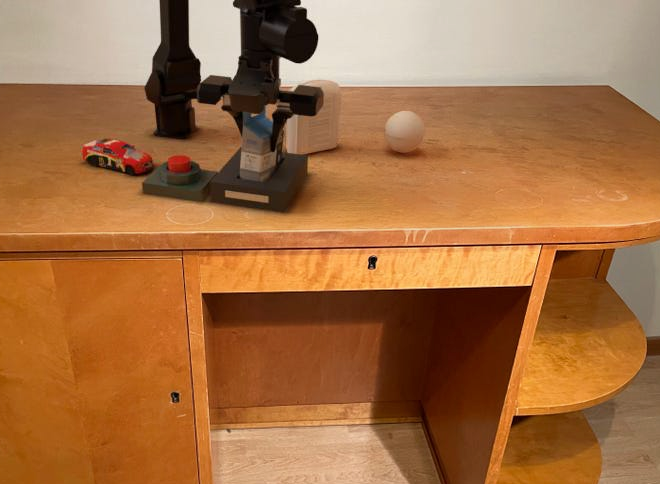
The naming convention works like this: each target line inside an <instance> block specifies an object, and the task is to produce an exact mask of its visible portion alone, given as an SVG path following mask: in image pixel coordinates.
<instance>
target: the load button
mask: <svg viewBox="0 0 660 484" xmlns="http://www.w3.org/2000/svg"><path fill="white" fill-rule="evenodd" d="M191 161H192V160H191V158H190V157H189V156H188V155H183V154H177V155H172V156H169V157H168V158H167V162H168V169H169V171H170V172H174V173H185V172H188V171H191Z"/></svg>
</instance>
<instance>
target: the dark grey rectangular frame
mask: <svg viewBox="0 0 660 484" xmlns="http://www.w3.org/2000/svg"><path fill="white" fill-rule="evenodd" d="M241 149H242V146H240V147H239V148H238V149H237V150H236V151H235V153H234V154H233V155H232V156H231V157H230V159H228V161H227V162H226V163H225V164H224V165H223V166H222V168H220V170H219V171H217V172H218V173H217V175H216V176H215V177H214V178H213V179H212V180H211V181H210V187H211V191H210V202H211V203H213V204H221V205H229V206H234V207H235V206H236V207H243V208H249V209H256V210H263V211H264V210H265V211H271V212H275V213H276V212H277V213H285V211H286V210H287V208H288V207H289V205H290V204H291V202H292V200H293V199H294V198H295V197H296V196H295V195H296V194H297V192H298V191H299V189H300V187H301V186H302V184H303V183H304V181H305V180H306V178H307V177H308V171H309V170H308V167H309V154H302V155H300V154H293V153H288V152H283V151H282V160H281V165H280V166H279V168H278V169H277V170H276V172H275V173H274V175H273V176H272V177H271V179H270V180H269V182H268V183H266V182H259V181H252V180H244V179H239V177H240V163H241Z"/></svg>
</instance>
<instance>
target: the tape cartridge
mask: <svg viewBox="0 0 660 484" xmlns="http://www.w3.org/2000/svg"><path fill="white" fill-rule="evenodd" d="M266 106H267V105H264V109H263V111H262V112H261V113H259V114H255V115H253V114H252V113H251V112H244V111H243V135H242V137H241V147H242V149H241V163H240V177H239V179H244V180H252V181H259V182H266V183H268V182H269V180H270V179H271V177H272V176H273V175H274V173H275V172H276V170H277V169H278V168H279V166H280V165H281V160H282V152H283V148H284V136H285V130H284V129H283V131H282V134H281V137H280V139H279V142H278V145H277V147H276V150H275V152H271V138H272V128H273V120H271V119H270V118H268V117H267V116H266ZM252 115H253V116H252Z"/></svg>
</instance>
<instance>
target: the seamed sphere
mask: <svg viewBox="0 0 660 484" xmlns="http://www.w3.org/2000/svg"><path fill="white" fill-rule="evenodd" d="M382 134H384V139H385V142H386V144H387V146H389V148H391V149H392V150H393V151H395V152H397V153H401V154H406V153H410V152H413V151H415V150H416V149H417V148H418V147H420V145H421V144H422V142H423V140H424V137H425V124H424V122H423V119H422V118H421V117H420V116H419V115H418V114H417V113H415V112H413V111H410V110H401V111H398V112H395V113H394V114H393V115H392V116H390V117H389V119H388V120H387V121H386V123H385V128H384V132H381V133H379V135H382ZM377 135H378V133H376V134H374V136H377Z"/></svg>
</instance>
